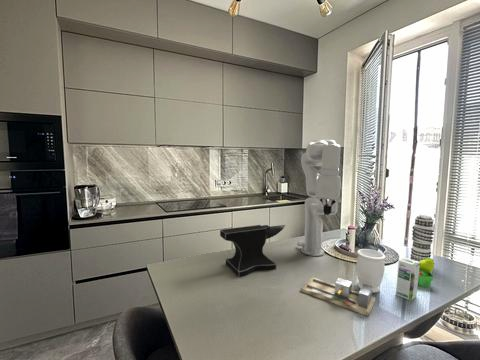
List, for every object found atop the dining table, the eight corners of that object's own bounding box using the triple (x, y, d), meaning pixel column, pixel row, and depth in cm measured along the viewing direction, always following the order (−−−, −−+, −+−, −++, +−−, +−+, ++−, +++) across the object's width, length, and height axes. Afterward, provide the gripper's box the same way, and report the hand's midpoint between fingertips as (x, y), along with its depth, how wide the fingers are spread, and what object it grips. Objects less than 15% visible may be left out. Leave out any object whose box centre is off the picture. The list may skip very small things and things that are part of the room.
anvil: (228, 280, 109) (229, 236, 107) (216, 266, 122) (216, 227, 120) (293, 265, 125) (294, 227, 123) (275, 254, 138) (277, 220, 136)
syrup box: (394, 294, 101) (398, 259, 99) (400, 290, 104) (404, 256, 103) (411, 301, 96) (414, 265, 95) (417, 296, 100) (420, 261, 98)
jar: (381, 297, 98) (385, 260, 97) (353, 289, 104) (355, 254, 102) (383, 285, 107) (386, 251, 106) (356, 278, 113) (359, 246, 111)
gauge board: (300, 291, 102) (300, 287, 101) (312, 279, 111) (312, 276, 111) (368, 316, 87) (369, 312, 86) (375, 300, 96) (375, 296, 96)
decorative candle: (407, 263, 131) (412, 216, 128) (410, 257, 138) (414, 213, 135) (429, 268, 125) (435, 219, 122) (431, 262, 132) (436, 216, 129)
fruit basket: (404, 274, 119) (407, 251, 118) (427, 277, 116) (429, 254, 115) (412, 285, 108) (414, 260, 107) (437, 289, 105) (440, 264, 104)
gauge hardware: (306, 287, 102) (307, 275, 102) (313, 279, 108) (314, 268, 108) (367, 309, 89) (368, 295, 88) (371, 299, 95) (372, 286, 94)
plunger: (331, 299, 94) (332, 286, 93) (338, 289, 101) (339, 277, 100) (345, 304, 91) (346, 291, 90) (351, 294, 98) (352, 281, 97)
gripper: (309, 172, 111) (307, 213, 113) (345, 174, 102) (342, 218, 104) (316, 171, 116) (314, 210, 118) (350, 173, 107) (347, 215, 109)
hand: (327, 214), depth 111 cm, fingers closed
